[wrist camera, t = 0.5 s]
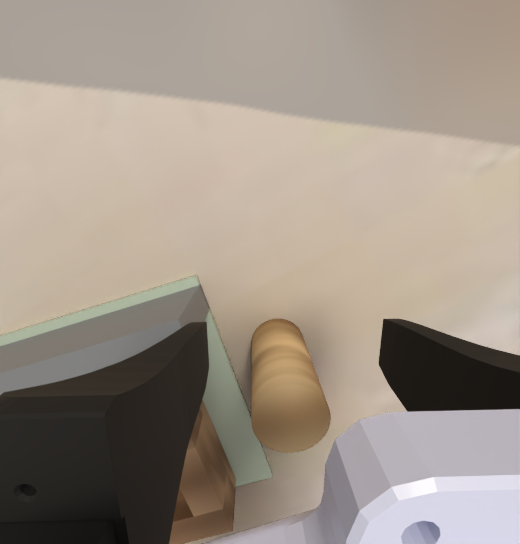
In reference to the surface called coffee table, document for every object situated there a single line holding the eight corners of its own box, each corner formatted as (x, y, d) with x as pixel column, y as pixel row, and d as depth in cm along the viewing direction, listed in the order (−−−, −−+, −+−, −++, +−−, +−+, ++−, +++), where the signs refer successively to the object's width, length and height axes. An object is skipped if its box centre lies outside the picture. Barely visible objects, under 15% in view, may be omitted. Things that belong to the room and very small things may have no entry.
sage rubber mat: (272, 472, 25) (272, 477, 25) (103, 518, 26) (101, 523, 26) (197, 274, 21) (195, 276, 20) (-6, 337, 21) (-11, 339, 21)
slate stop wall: (209, 308, 21) (192, 353, 15) (13, 367, 22) (-81, 433, 16) (200, 283, 21) (178, 319, 15) (-1, 345, 22) (-102, 404, 15)
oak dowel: (308, 357, 23) (338, 440, 15) (260, 371, 23) (264, 461, 15) (295, 312, 22) (319, 376, 14) (244, 327, 22) (240, 398, 14)
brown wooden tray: (235, 478, 25) (232, 530, 21) (127, 507, 25) (105, 563, 21) (195, 382, 22) (183, 421, 18) (76, 416, 23) (40, 461, 19)
